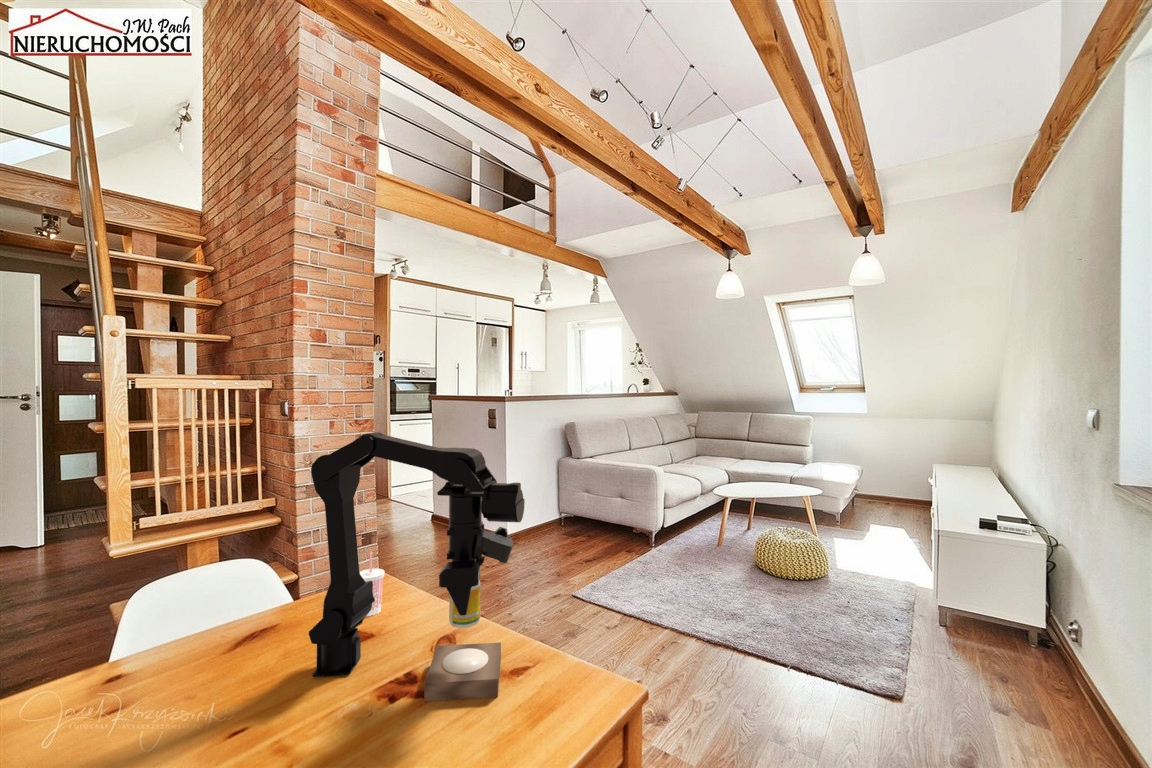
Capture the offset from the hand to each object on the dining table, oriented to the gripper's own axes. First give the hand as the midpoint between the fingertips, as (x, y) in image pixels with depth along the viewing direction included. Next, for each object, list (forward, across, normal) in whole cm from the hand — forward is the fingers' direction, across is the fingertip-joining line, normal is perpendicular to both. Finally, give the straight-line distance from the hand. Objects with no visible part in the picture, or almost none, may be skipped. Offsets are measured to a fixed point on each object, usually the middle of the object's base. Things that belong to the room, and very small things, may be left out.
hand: (465, 607), depth 87 cm
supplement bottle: (+3, 0, 0) cm, 3 cm away
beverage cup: (+13, +29, +25) cm, 40 cm away
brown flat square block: (+13, 0, 0) cm, 13 cm away
